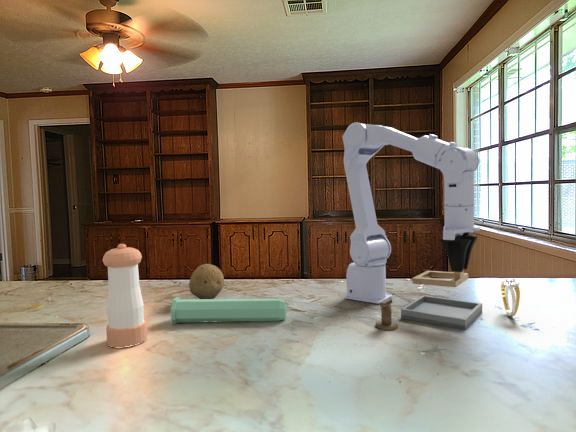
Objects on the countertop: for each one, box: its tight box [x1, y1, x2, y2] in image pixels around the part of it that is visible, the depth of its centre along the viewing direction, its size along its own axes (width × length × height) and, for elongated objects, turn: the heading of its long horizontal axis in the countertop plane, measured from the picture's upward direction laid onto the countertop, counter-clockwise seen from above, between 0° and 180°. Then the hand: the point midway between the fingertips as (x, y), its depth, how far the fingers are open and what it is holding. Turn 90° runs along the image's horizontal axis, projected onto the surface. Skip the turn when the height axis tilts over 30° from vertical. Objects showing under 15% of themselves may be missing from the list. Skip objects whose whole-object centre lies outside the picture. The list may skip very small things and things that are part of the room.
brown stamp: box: [375, 298, 399, 331], centre depth 83 cm, size 4×4×5 cm
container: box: [170, 296, 288, 324], centre depth 90 cm, size 6×6×25 cm
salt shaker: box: [102, 243, 148, 347], centre depth 79 cm, size 7×7×19 cm
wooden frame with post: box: [411, 269, 469, 288], centre depth 88 cm, size 9×9×5 cm
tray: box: [400, 295, 483, 331], centre depth 89 cm, size 13×13×2 cm
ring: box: [500, 278, 521, 317], centre depth 87 cm, size 7×3×8 cm, turn 165°
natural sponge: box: [188, 263, 225, 299], centre depth 105 cm, size 9×9×10 cm
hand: (459, 270), depth 86 cm, fingers closed on wooden frame with post, 2 cm apart
